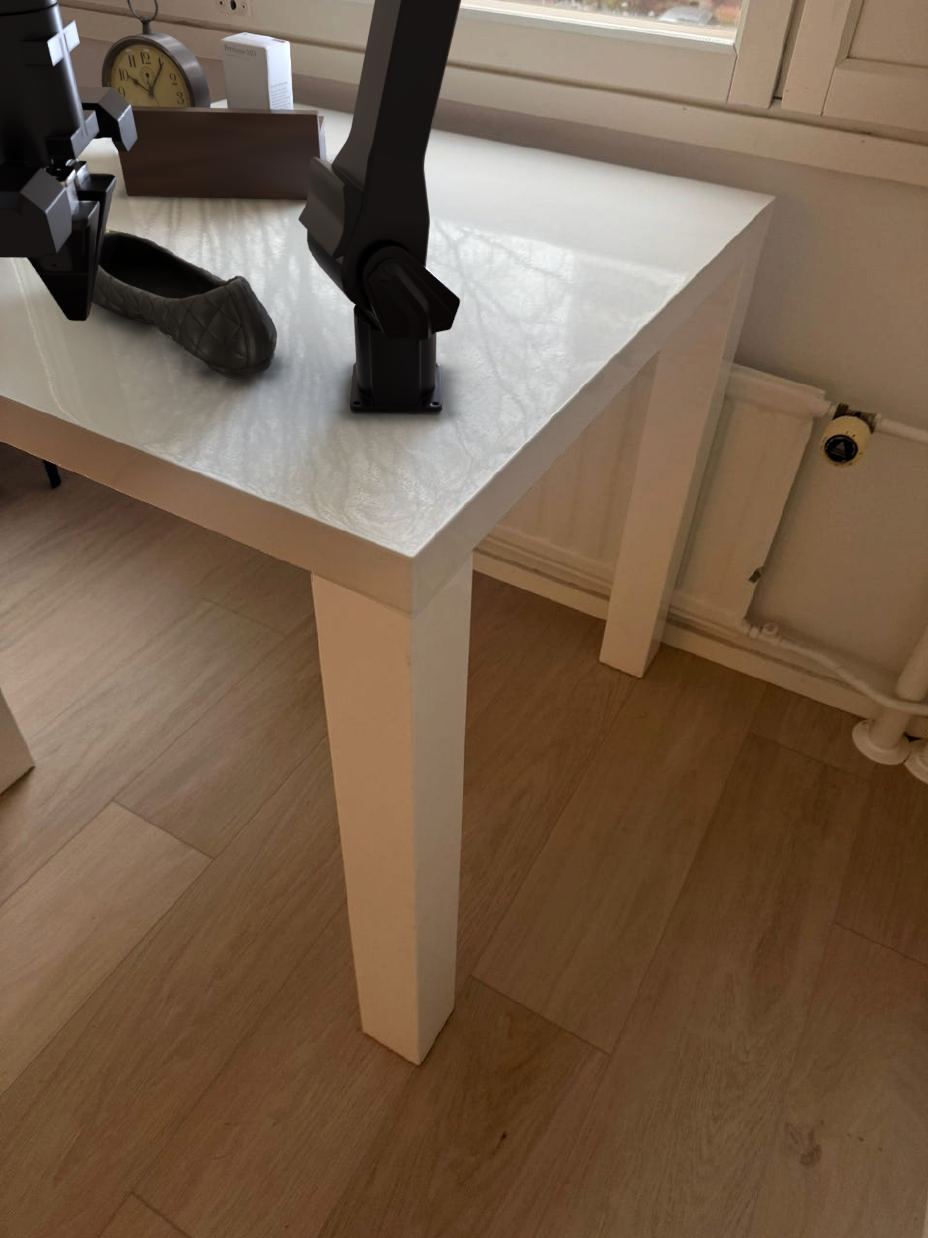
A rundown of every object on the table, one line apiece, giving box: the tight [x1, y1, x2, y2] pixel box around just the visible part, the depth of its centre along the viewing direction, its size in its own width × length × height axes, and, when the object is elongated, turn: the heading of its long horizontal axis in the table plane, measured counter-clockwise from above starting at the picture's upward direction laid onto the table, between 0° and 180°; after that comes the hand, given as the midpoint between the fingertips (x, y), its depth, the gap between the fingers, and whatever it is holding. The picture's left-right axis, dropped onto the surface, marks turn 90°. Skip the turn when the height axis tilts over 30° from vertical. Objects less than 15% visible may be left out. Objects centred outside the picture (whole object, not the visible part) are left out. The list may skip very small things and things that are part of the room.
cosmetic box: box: [220, 31, 294, 110], centre depth 98 cm, size 6×4×12 cm
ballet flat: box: [92, 225, 278, 379], centre depth 71 cm, size 9×26×7 cm, turn 46°
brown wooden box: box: [117, 106, 328, 200], centre depth 94 cm, size 7×20×8 cm, turn 93°
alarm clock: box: [101, 0, 212, 108], centre depth 98 cm, size 11×5×16 cm, turn 73°
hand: (79, 318), depth 54 cm, fingers closed
